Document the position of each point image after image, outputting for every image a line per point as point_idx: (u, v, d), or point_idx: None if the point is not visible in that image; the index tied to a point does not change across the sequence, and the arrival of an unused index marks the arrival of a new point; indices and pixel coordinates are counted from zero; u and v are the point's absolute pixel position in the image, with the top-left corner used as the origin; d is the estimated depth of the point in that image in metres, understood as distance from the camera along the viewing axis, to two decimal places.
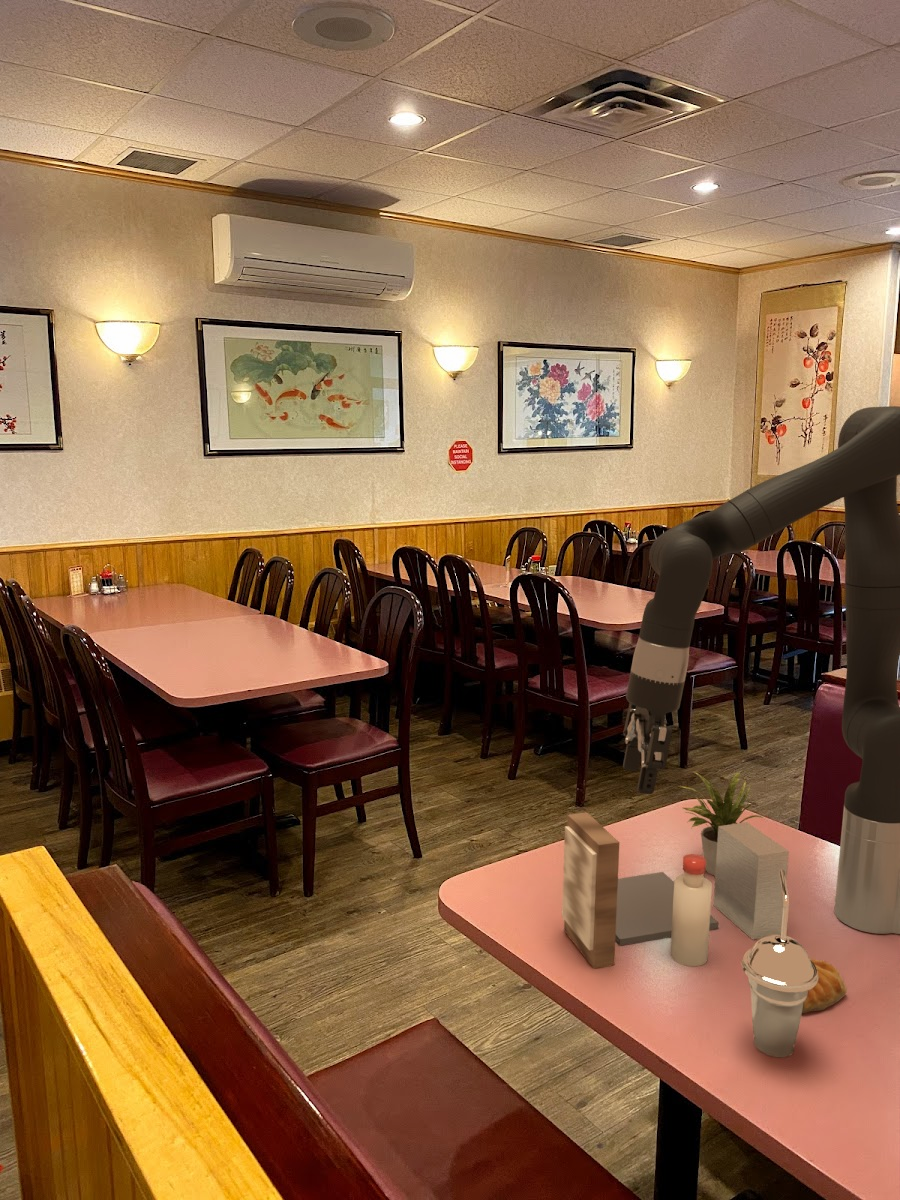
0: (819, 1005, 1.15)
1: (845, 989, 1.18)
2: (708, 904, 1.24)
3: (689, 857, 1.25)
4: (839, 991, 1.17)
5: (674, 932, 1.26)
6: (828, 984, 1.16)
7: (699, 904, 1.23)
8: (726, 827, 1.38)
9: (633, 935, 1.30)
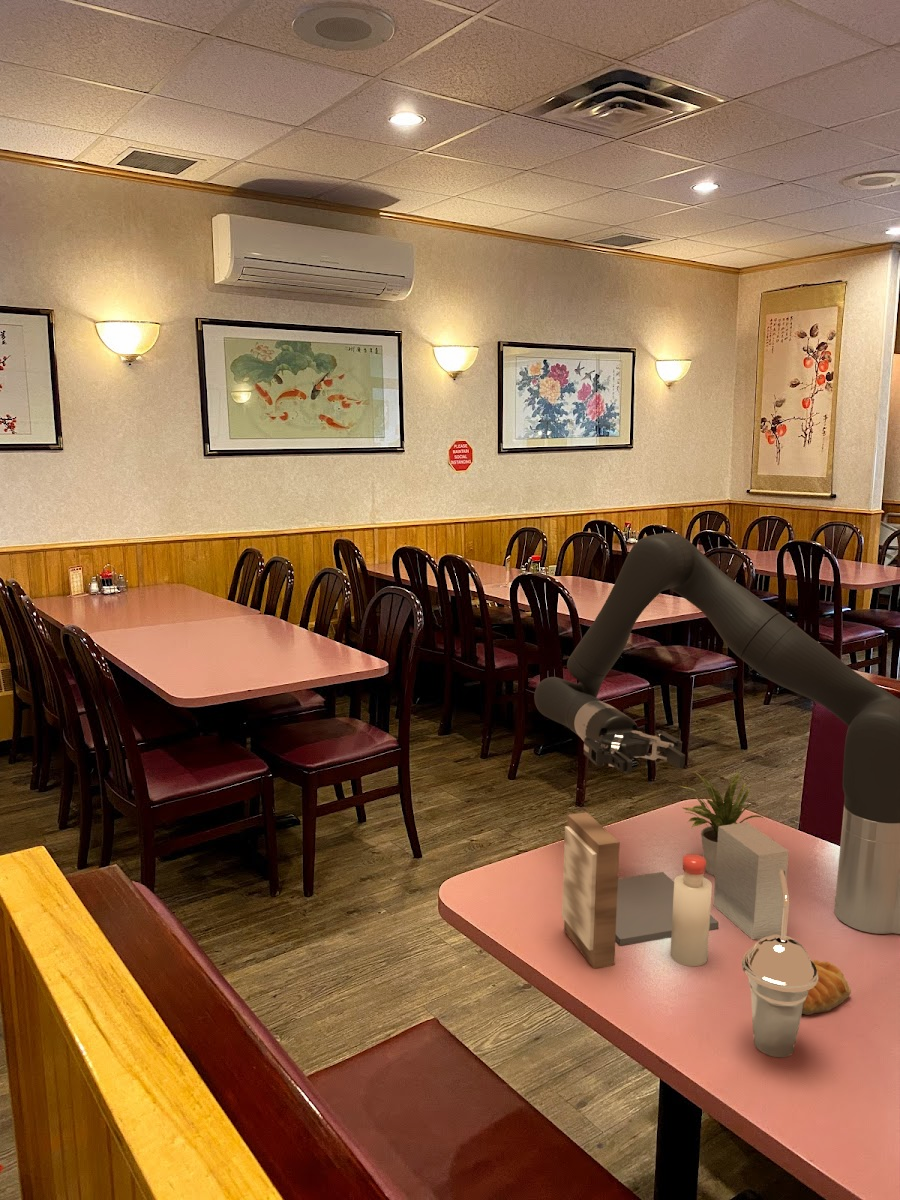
0: (823, 1006, 1.14)
1: (849, 990, 1.18)
2: (708, 904, 1.24)
3: (689, 857, 1.25)
4: (844, 992, 1.16)
5: (674, 932, 1.26)
6: (832, 985, 1.16)
7: (699, 904, 1.23)
8: (726, 827, 1.38)
9: (633, 935, 1.30)
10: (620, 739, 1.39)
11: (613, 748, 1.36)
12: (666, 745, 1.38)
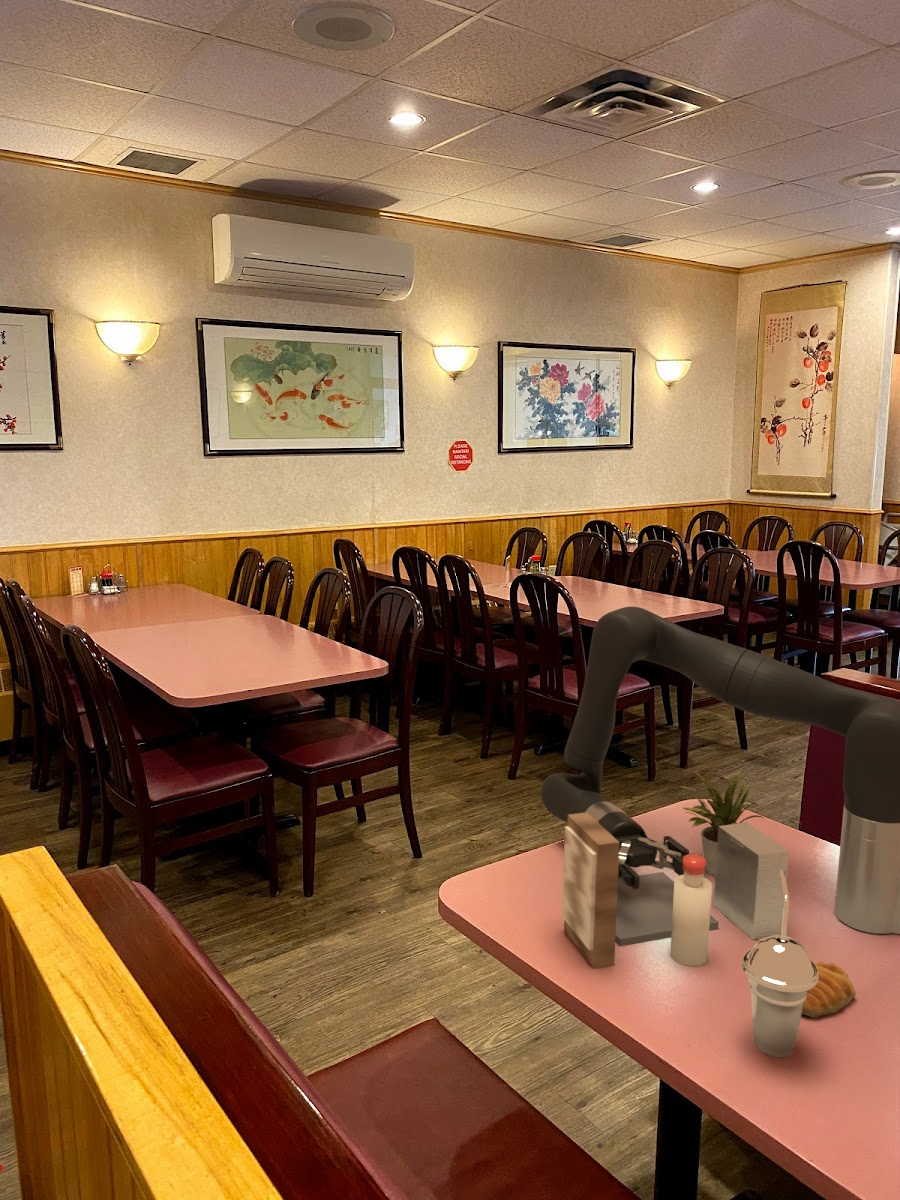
0: (830, 1009, 1.14)
1: (854, 991, 1.17)
2: (708, 904, 1.24)
3: (689, 857, 1.25)
4: (849, 993, 1.16)
5: (674, 932, 1.26)
6: (838, 987, 1.15)
7: (699, 904, 1.23)
8: (726, 827, 1.38)
9: (633, 935, 1.30)
10: (627, 849, 1.39)
11: (620, 860, 1.36)
12: (673, 855, 1.38)
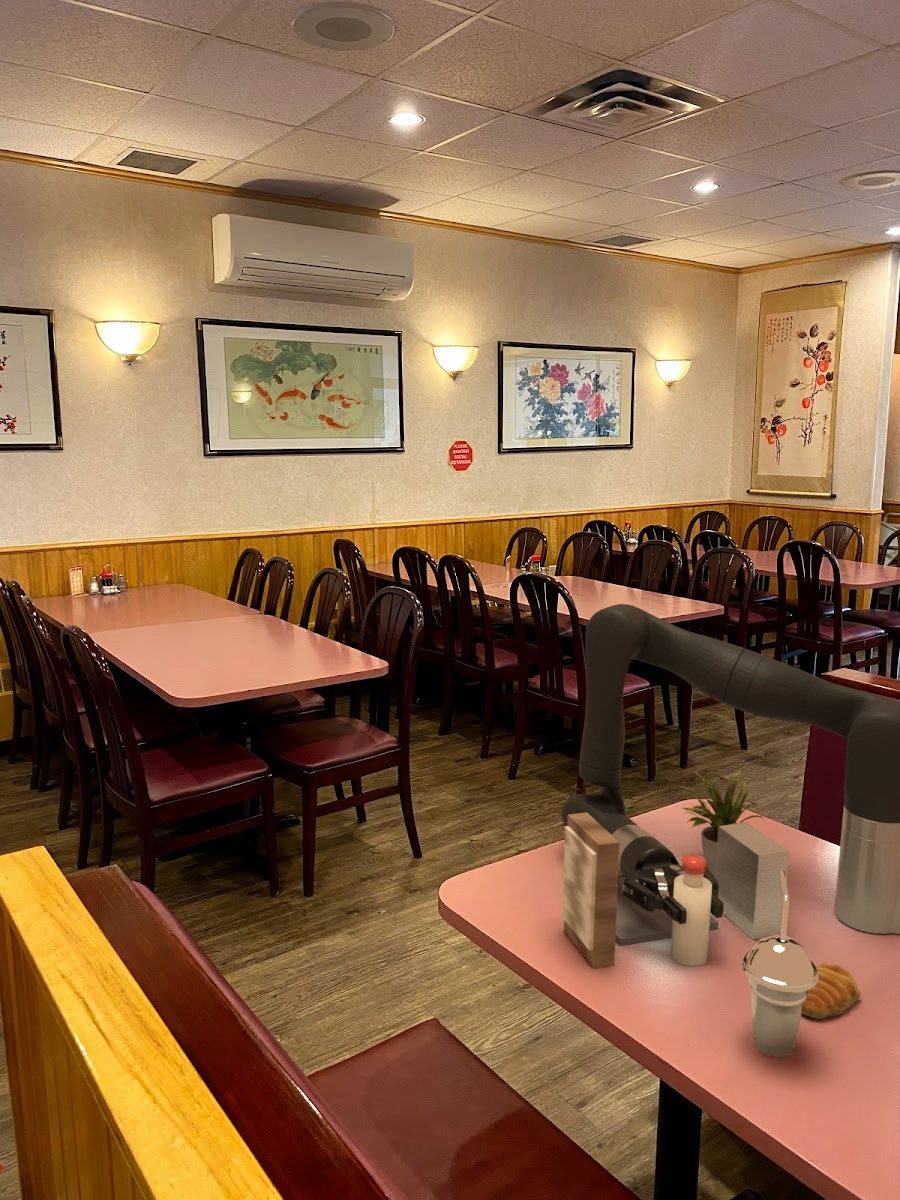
0: (836, 1010, 1.14)
1: (859, 992, 1.17)
2: (708, 904, 1.24)
3: (689, 857, 1.25)
4: (854, 995, 1.16)
5: (674, 931, 1.26)
6: (844, 988, 1.15)
7: (699, 904, 1.23)
8: (726, 827, 1.38)
9: (633, 935, 1.30)
10: (663, 878, 1.30)
11: (663, 891, 1.27)
12: None
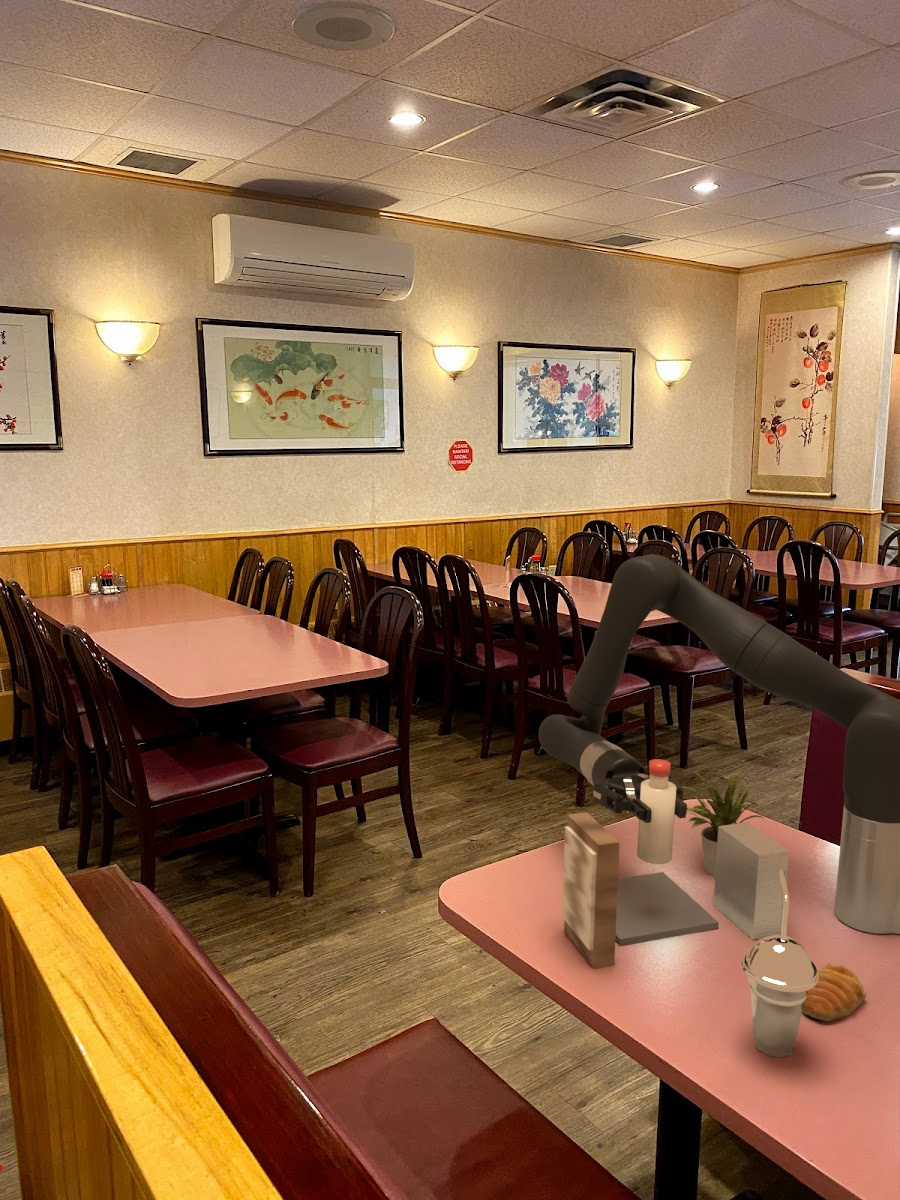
0: (843, 1012, 1.13)
1: (865, 993, 1.17)
2: (672, 804, 1.31)
3: (655, 761, 1.32)
4: (861, 996, 1.16)
5: (641, 832, 1.33)
6: (850, 990, 1.15)
7: (664, 804, 1.30)
8: (726, 827, 1.38)
9: (633, 935, 1.30)
10: (631, 784, 1.37)
11: (630, 795, 1.34)
12: None
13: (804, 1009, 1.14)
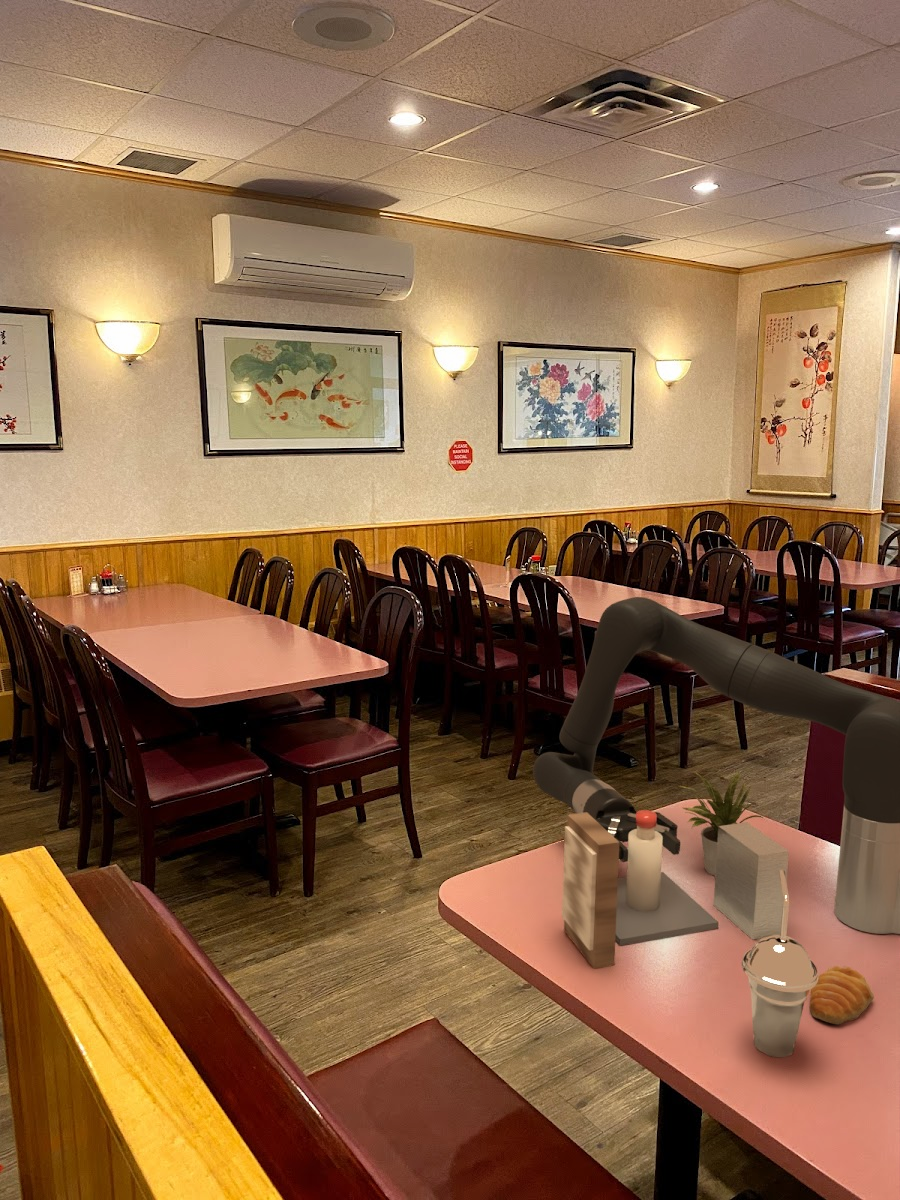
0: (853, 1014, 1.13)
1: (872, 995, 1.17)
2: (658, 854, 1.35)
3: (641, 812, 1.37)
4: (869, 997, 1.15)
5: (629, 880, 1.38)
6: (859, 992, 1.14)
7: (650, 855, 1.35)
8: (726, 827, 1.38)
9: (633, 935, 1.30)
10: (617, 824, 1.41)
11: None
12: (662, 830, 1.41)
13: (814, 1013, 1.14)
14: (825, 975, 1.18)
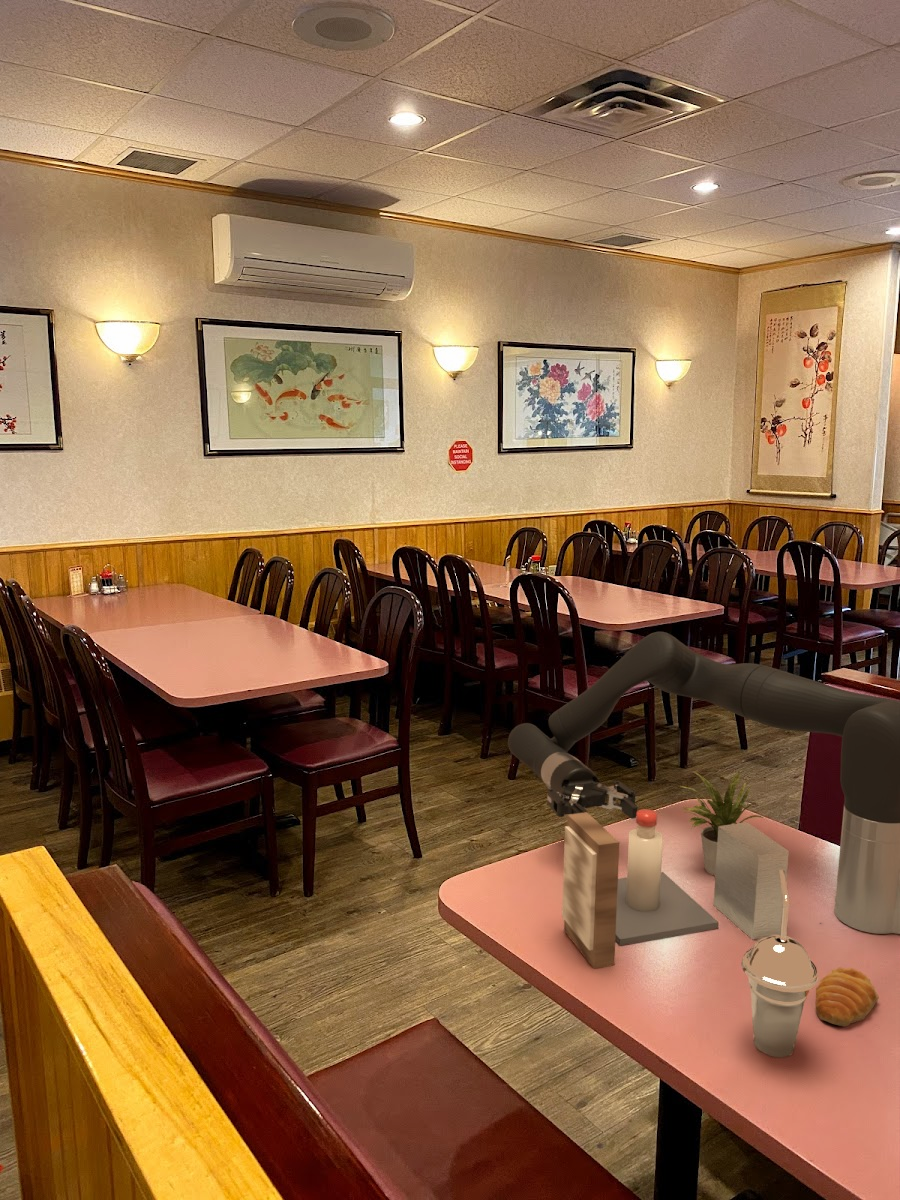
0: (860, 1016, 1.13)
1: (877, 995, 1.17)
2: (659, 853, 1.36)
3: (642, 811, 1.37)
4: (874, 998, 1.15)
5: (629, 880, 1.38)
6: (865, 993, 1.14)
7: (651, 853, 1.35)
8: (726, 827, 1.38)
9: (633, 935, 1.30)
10: (580, 791, 1.53)
11: (573, 800, 1.51)
12: (621, 796, 1.53)
13: (821, 1015, 1.13)
14: (830, 977, 1.18)
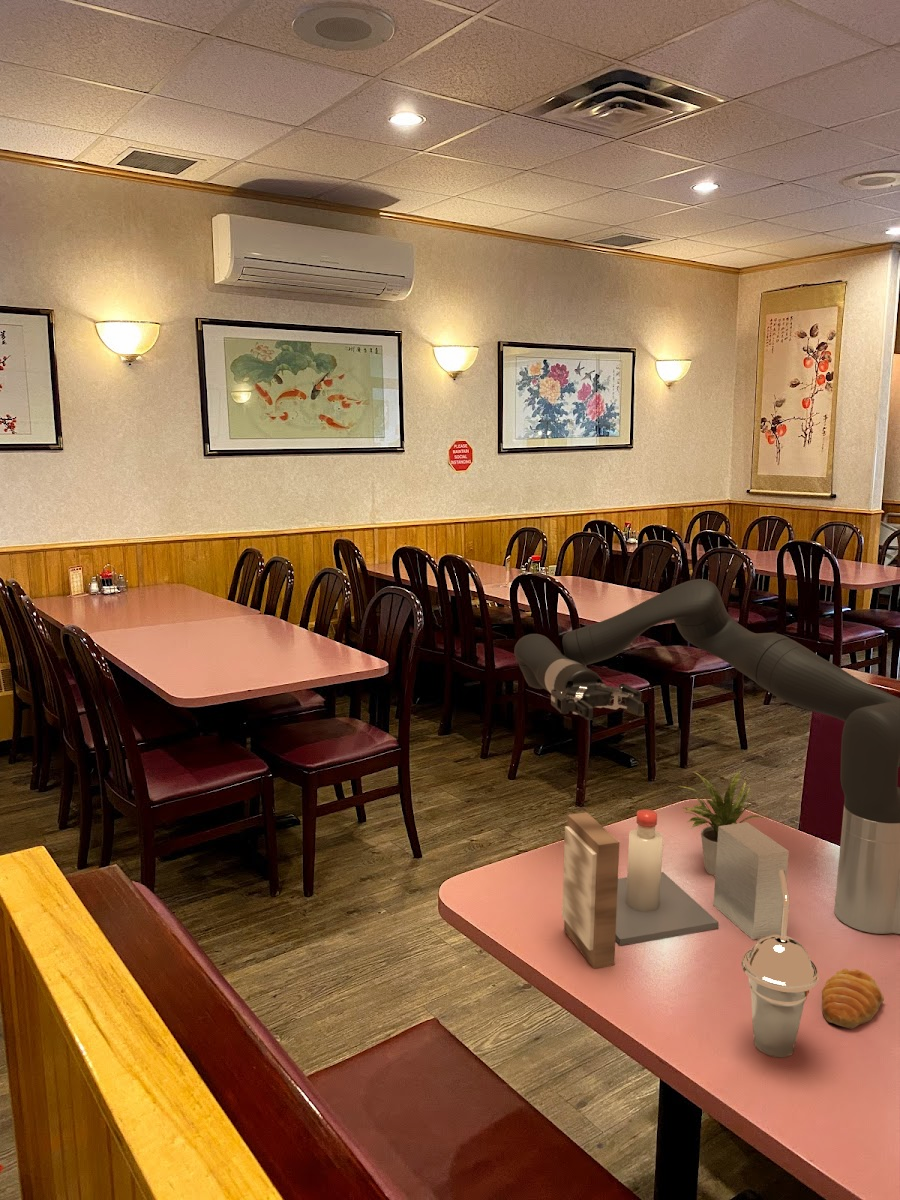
0: (867, 1018, 1.12)
1: (882, 996, 1.16)
2: (659, 854, 1.36)
3: (642, 811, 1.37)
4: (880, 999, 1.15)
5: (629, 880, 1.38)
6: (871, 994, 1.14)
7: (651, 854, 1.35)
8: (726, 827, 1.38)
9: (633, 935, 1.30)
10: (584, 690, 1.50)
11: (577, 697, 1.48)
12: (626, 695, 1.50)
13: (828, 1017, 1.13)
14: (835, 978, 1.17)
